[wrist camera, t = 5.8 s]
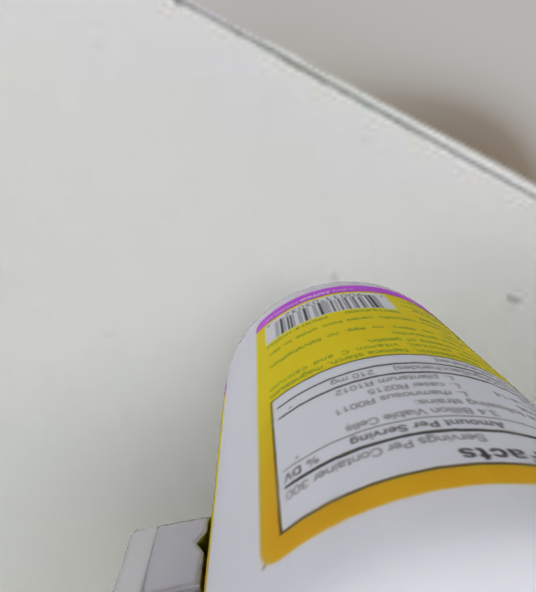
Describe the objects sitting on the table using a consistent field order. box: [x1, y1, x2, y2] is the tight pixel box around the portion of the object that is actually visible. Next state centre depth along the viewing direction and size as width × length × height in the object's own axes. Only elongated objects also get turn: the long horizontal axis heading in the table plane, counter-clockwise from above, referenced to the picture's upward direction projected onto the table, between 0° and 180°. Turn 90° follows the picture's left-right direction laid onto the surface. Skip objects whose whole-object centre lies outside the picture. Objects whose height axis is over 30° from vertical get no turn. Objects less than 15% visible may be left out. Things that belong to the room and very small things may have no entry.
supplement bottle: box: [204, 282, 536, 592], centre depth 8 cm, size 7×7×13 cm
